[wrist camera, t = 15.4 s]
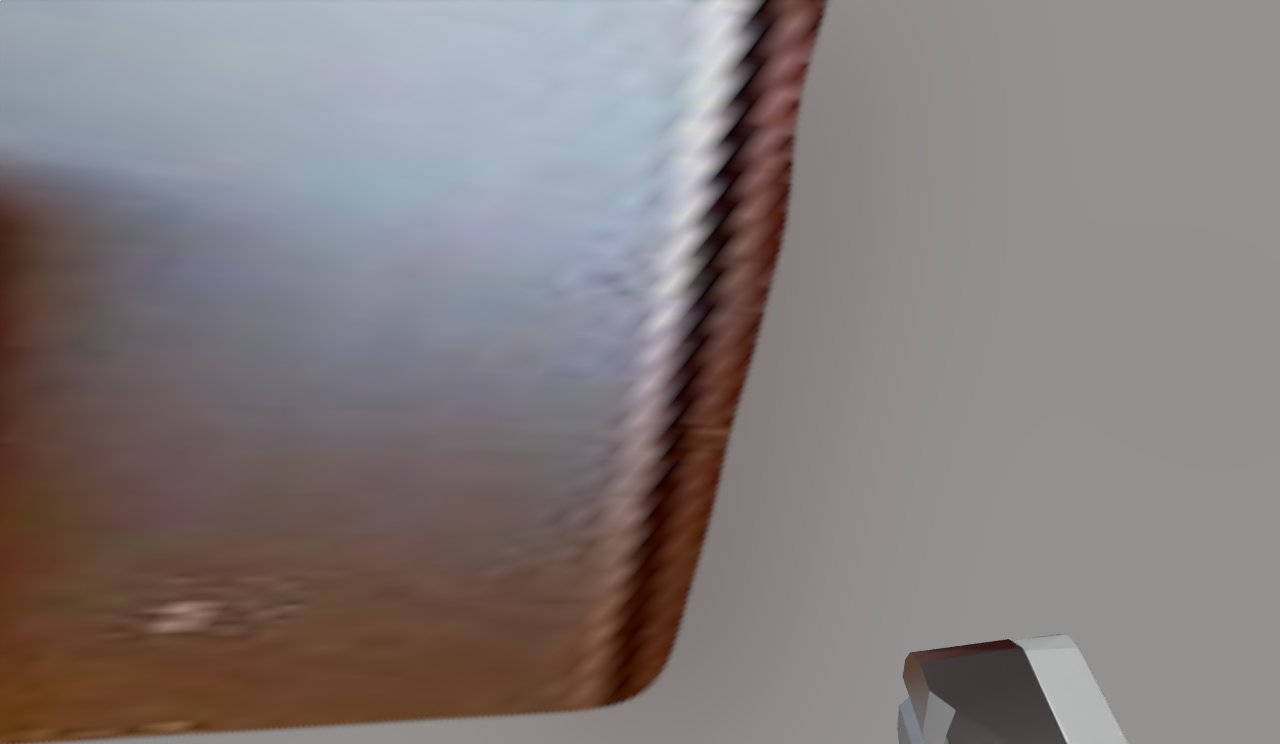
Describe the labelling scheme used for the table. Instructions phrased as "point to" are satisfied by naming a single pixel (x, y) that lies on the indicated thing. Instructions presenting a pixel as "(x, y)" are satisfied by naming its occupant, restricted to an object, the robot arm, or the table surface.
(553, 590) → the table surface
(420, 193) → the table surface
